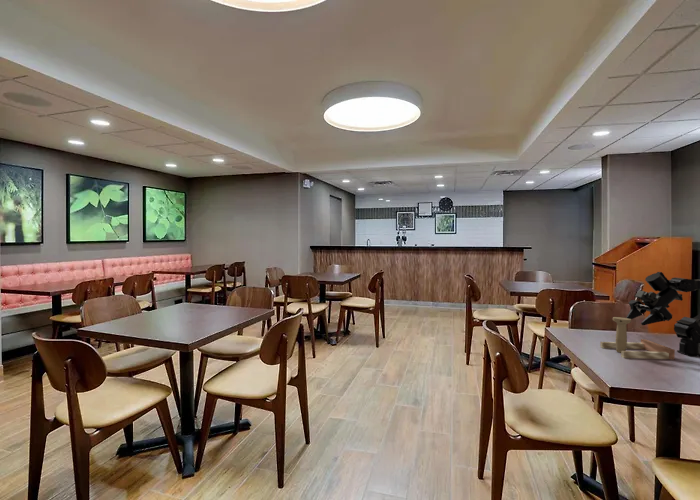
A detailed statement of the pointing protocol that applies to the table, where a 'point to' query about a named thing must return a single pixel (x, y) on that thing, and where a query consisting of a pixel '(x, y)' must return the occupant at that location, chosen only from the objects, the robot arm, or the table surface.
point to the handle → (621, 333)
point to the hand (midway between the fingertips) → (633, 322)
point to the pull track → (654, 348)
